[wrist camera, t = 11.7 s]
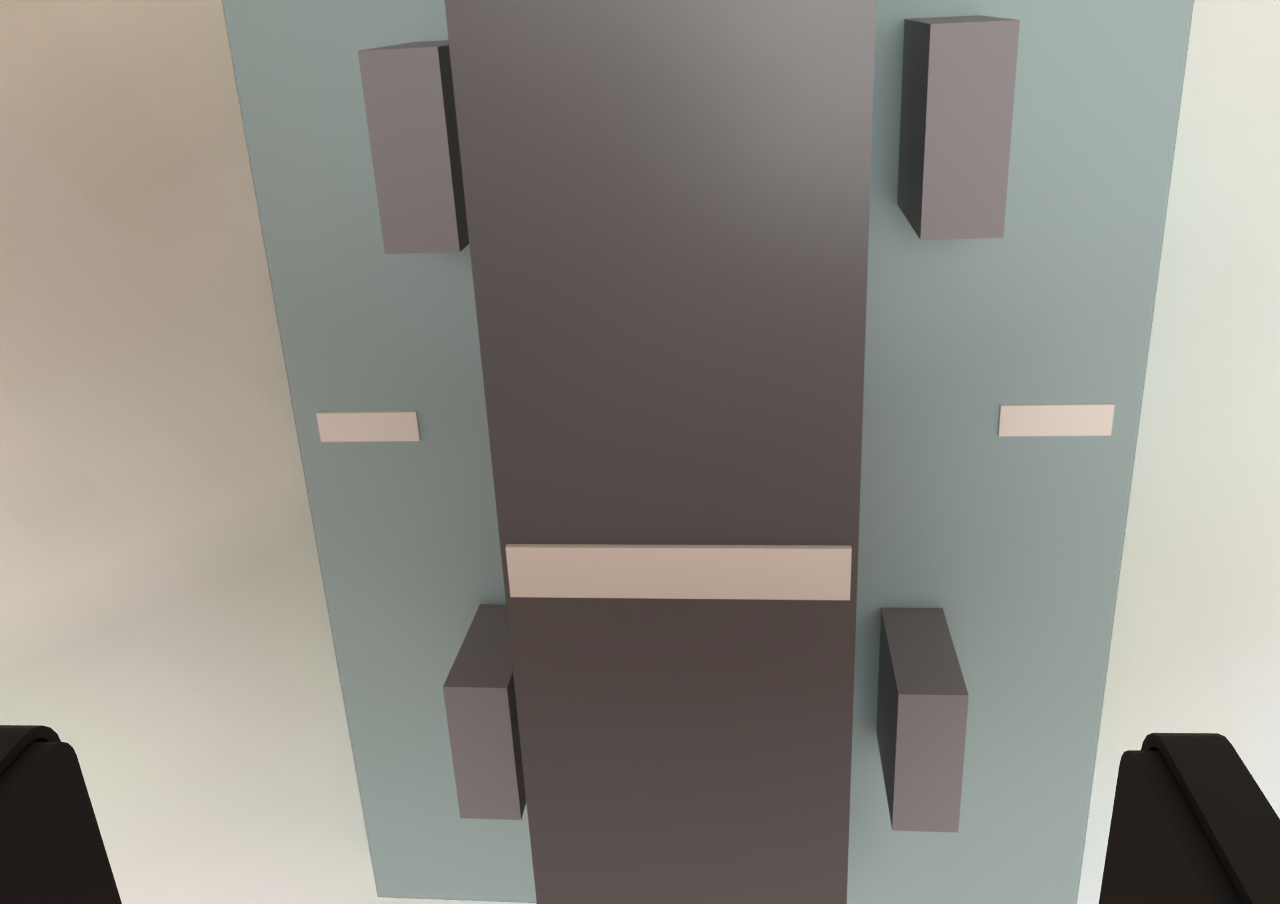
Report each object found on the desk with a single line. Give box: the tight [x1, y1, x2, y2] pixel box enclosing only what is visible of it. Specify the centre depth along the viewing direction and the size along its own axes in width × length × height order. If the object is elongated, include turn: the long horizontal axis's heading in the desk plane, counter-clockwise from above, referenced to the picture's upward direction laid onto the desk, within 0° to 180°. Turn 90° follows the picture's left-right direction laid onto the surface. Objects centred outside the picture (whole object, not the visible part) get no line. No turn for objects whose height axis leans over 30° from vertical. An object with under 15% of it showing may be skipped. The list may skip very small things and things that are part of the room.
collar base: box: [222, 0, 1194, 904], centre depth 20 cm, size 16×24×4 cm, turn 3°
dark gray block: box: [444, 0, 876, 904], centre depth 18 cm, size 20×5×6 cm, turn 3°
